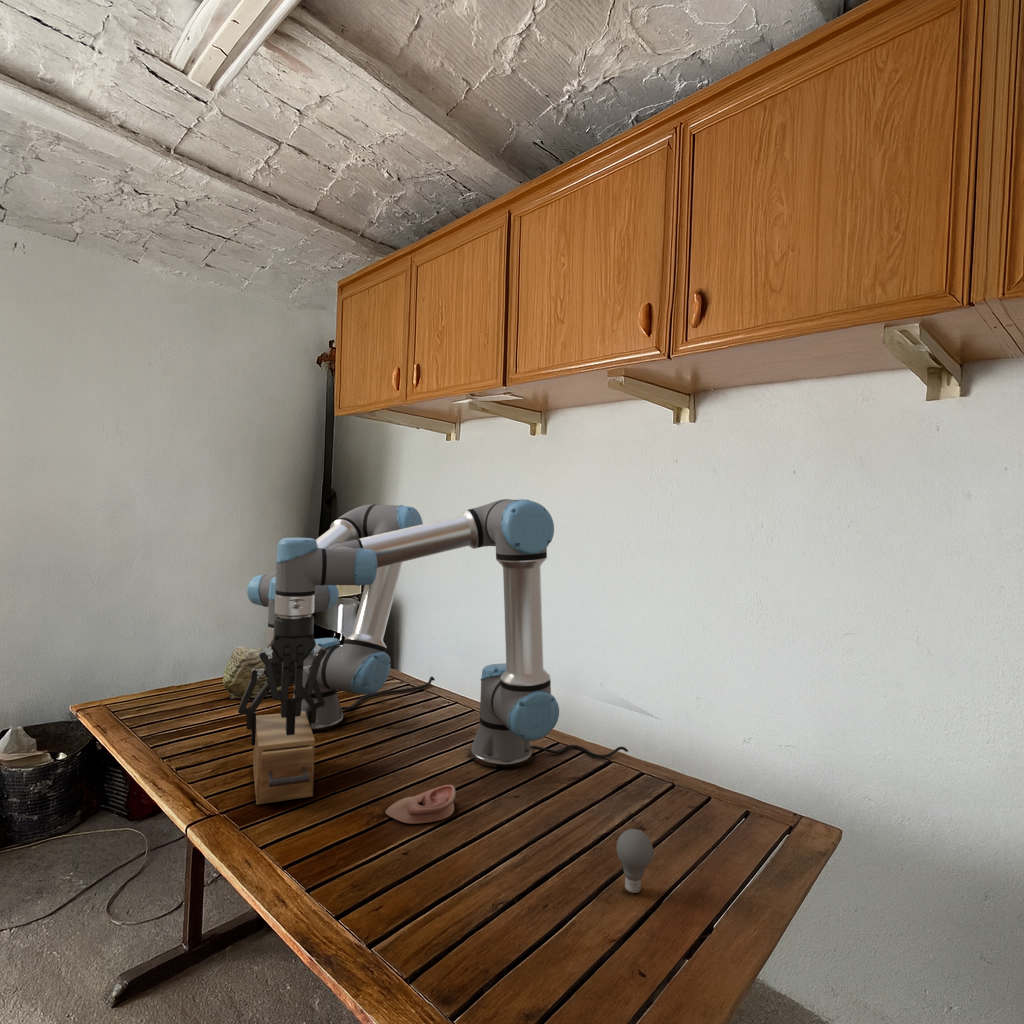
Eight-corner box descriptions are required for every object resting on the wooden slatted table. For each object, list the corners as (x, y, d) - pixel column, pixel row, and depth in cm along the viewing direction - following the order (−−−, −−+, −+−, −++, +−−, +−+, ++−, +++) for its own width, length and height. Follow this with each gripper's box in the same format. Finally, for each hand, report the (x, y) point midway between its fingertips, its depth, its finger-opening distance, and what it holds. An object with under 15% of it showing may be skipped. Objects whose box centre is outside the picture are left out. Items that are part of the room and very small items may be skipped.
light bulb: (610, 879, 108) (613, 822, 108) (644, 879, 109) (647, 822, 109) (619, 902, 102) (622, 840, 102) (655, 901, 103) (658, 840, 103)
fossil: (218, 695, 195) (220, 647, 195) (278, 685, 208) (279, 640, 207) (228, 703, 189) (230, 653, 188) (289, 692, 201) (290, 645, 201)
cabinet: (312, 796, 134) (314, 739, 134) (256, 804, 129) (258, 746, 129) (303, 761, 151) (305, 711, 151) (253, 767, 146) (254, 715, 146)
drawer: (314, 808, 127) (316, 759, 126) (261, 817, 123) (263, 765, 122) (302, 762, 148) (303, 720, 148) (256, 768, 144) (258, 724, 143)
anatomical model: (379, 799, 125) (401, 775, 136) (379, 819, 125) (400, 793, 136) (444, 809, 122) (460, 783, 134) (443, 829, 122) (460, 802, 134)
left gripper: (228, 651, 136) (224, 752, 136) (340, 645, 146) (336, 740, 146) (228, 643, 143) (224, 740, 143) (335, 638, 152) (331, 728, 153)
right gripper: (260, 620, 120) (255, 743, 121) (330, 617, 126) (326, 735, 126) (258, 613, 127) (254, 729, 127) (325, 610, 132) (321, 722, 133)
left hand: (281, 740), depth 145 cm, fingers closed on cabinet, 11 cm apart
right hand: (290, 732), depth 127 cm, fingers closed
